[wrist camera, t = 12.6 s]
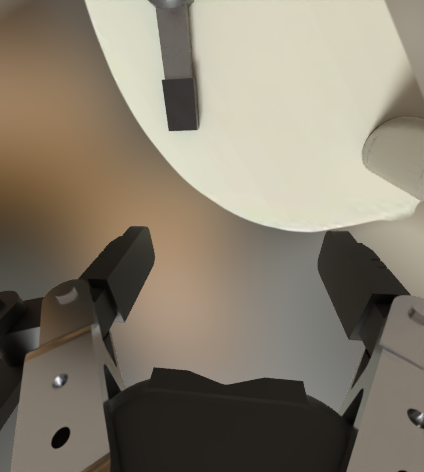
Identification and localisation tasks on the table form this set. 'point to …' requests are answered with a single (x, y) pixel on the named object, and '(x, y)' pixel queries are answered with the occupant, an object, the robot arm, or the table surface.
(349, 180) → the table surface
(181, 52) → the grey paddle-shaped piece
